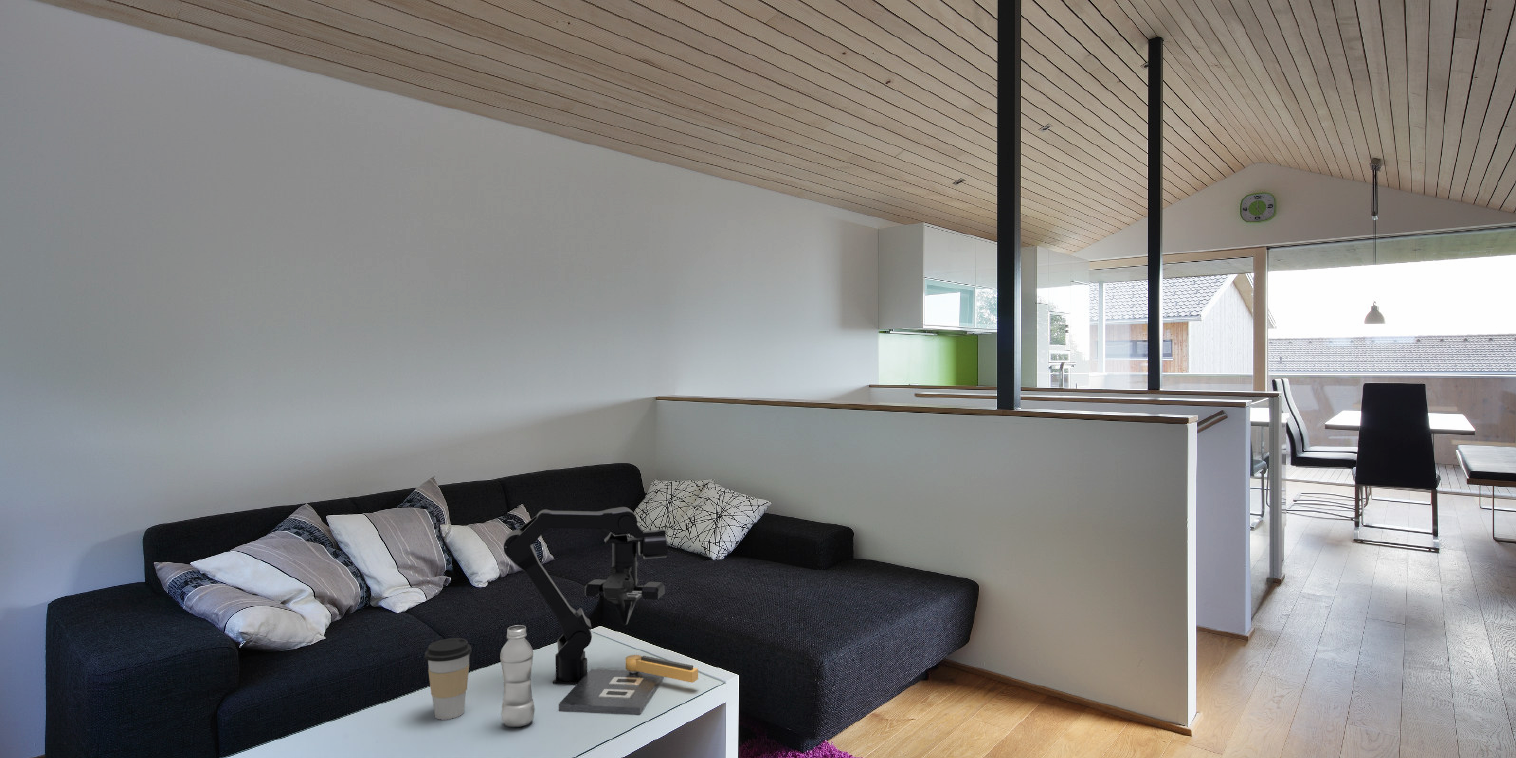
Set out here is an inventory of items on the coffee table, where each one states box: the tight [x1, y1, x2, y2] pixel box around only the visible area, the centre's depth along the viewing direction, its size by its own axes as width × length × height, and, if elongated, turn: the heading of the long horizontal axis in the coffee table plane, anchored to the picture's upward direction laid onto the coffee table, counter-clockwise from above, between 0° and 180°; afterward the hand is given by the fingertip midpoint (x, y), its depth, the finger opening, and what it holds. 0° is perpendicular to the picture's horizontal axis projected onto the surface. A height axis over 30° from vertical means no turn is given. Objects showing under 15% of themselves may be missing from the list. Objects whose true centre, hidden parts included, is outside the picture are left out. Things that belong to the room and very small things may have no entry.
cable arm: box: [624, 654, 699, 684], centre depth 179 cm, size 4×19×3 cm, turn 62°
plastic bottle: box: [499, 624, 536, 728], centre depth 159 cm, size 6×7×20 cm
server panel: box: [558, 668, 665, 716], centre depth 174 cm, size 18×20×2 cm
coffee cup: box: [423, 637, 473, 721], centre depth 164 cm, size 9×9×15 cm
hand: (625, 624), depth 186 cm, fingers closed
